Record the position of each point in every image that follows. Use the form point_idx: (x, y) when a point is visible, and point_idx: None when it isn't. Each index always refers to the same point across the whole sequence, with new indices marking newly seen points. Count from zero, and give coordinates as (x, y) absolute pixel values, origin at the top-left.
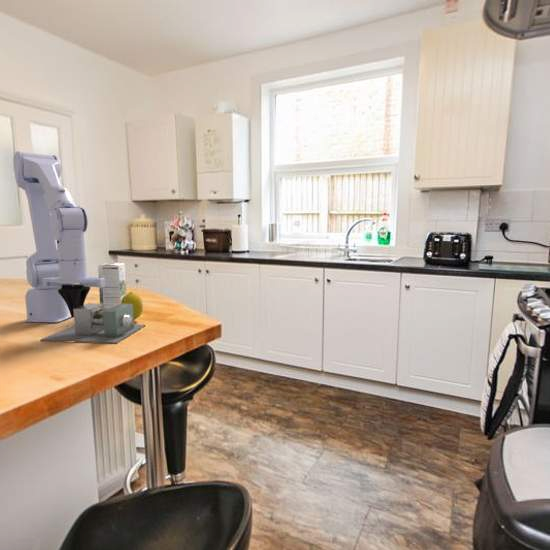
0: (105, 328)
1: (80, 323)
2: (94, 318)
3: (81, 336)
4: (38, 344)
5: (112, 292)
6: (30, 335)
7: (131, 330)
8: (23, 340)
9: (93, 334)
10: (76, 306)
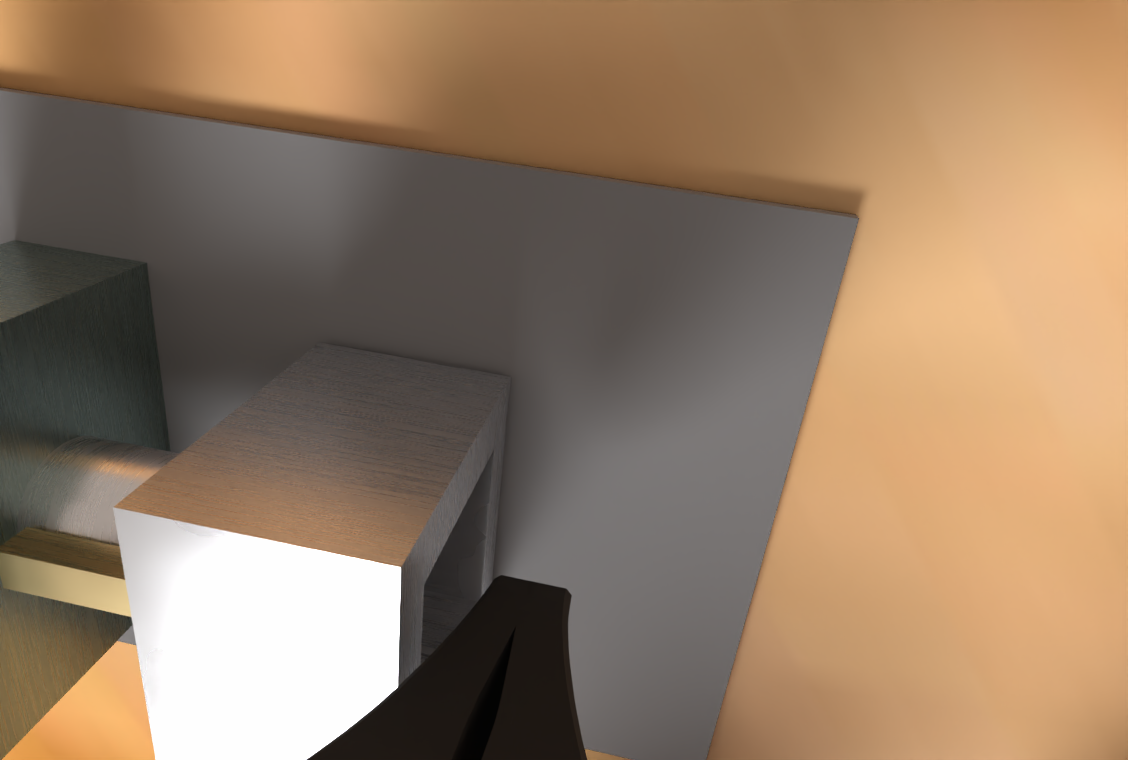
0: (54, 291)
1: (388, 422)
2: None
3: (411, 310)
4: (812, 63)
5: None
6: (1093, 447)
7: None
8: (1104, 247)
9: None
10: (413, 677)
